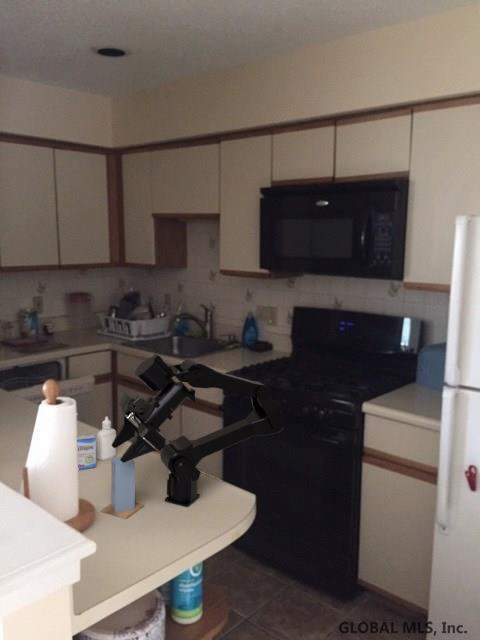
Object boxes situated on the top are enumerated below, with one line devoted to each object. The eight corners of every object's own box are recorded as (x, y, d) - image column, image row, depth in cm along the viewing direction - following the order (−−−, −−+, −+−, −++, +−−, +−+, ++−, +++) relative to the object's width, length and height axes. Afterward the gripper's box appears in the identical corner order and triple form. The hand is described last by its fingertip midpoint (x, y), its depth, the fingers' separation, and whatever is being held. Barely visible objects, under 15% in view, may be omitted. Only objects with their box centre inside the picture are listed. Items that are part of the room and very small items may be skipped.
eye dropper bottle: (118, 458, 161) (118, 418, 159) (97, 461, 159) (97, 420, 157) (114, 453, 165) (115, 413, 163) (95, 455, 163) (95, 415, 161)
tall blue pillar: (130, 501, 135) (130, 455, 133) (134, 509, 131) (134, 462, 129) (111, 504, 133) (111, 457, 131) (115, 513, 129) (115, 464, 127)
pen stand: (144, 506, 134) (144, 486, 133) (126, 519, 127) (126, 498, 127) (119, 499, 137) (119, 479, 136) (101, 511, 130) (101, 491, 130)
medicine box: (66, 472, 151) (66, 441, 150) (63, 466, 155) (63, 435, 154) (96, 468, 155) (96, 437, 153) (92, 462, 158) (92, 432, 157)
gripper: (131, 371, 138) (84, 419, 135) (152, 391, 121) (99, 447, 118) (162, 400, 142) (117, 447, 139) (186, 423, 125) (136, 478, 122)
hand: (117, 453), depth 129 cm, fingers open, 9 cm apart
